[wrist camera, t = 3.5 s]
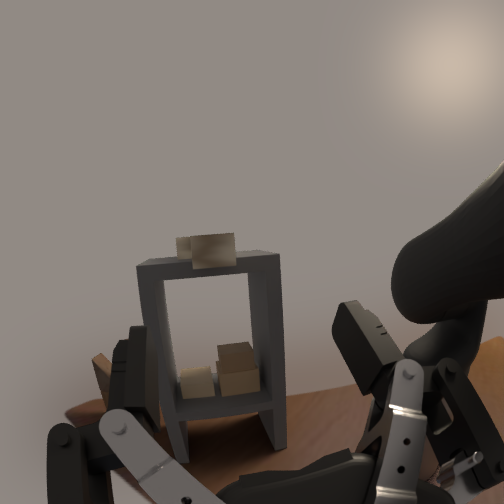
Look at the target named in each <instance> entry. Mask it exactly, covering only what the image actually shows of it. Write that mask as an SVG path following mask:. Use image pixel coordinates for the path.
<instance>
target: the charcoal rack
mask: <svg viewBox="0 0 504 504" xmlns="http://www.w3.org/2000/svg"><path fill="white" fill-rule="evenodd" d="M136 269H137V278H138V287H139V295H140V302H141V309H142V316H143V323H144V325H149V327H150V330H151V333H152V337H153V340H154V343H155V346H156V350H157V356H158V385H159V402H160V406H161V410H162V414H163V417H164V421H165V425H166V428H167V432H168V435H169V439H170V442H171V445H172V449H173V452H174V455H175V458H176V461H177V462H178V463H179V464H180V463H190V462H189V447H188V428H187V421H190V420H201V419H211V418H219V417H227V416H234V415H241V414H247V413H253V412H258V414H259V417H260V419H261V421H262V423H263V425H264V428H265V430H266V432H267V434H268V436H269V439H270V441H271V443H272V445H273V447H274V449H275V451H276V450H280V449H284V448H287V423H286V382H285V352H284V328H283V308H282V289H281V288H282V287H281V270H280V255H279V254H277V253H272V252H266V251H261V250H252V251H239V252H236V266H225V267H214V268H203V269H193V264H192V258H191V259H179V260H178V258H177V257H167V258H155V259H148V260H146V261H145V262H143V263H141V264H139V265H138V266H136ZM240 273H248V285H249V299H250V311H251V326H252V339H253V349H252V347H251V346H250V344H249V342H242V343H234V344H226V345H218V346H217V348H218V357H219V361H216V366H217V373H214V374H211V369H210V366H208V367H198V368H187V369H181V377H178V376H177V371H176V365H175V359H174V353H173V347H172V341H171V335H170V328H169V321H168V313H167V307H166V299H165V289H164V280H172V279H184V278H196V277H207V276H218V275H229V274H240Z"/></svg>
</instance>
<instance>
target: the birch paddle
mask: <svg viewBox="0 0 504 504" xmlns="http://www.w3.org/2000/svg"><path fill="white" fill-rule="evenodd" d="M176 245H177V258H178V260H179V259H191V258H192V264H193V269H203V268H214V267H225V266H236V252H235V239H234V233H225V234H212V235H198V236H190V237H181V238H176Z"/></svg>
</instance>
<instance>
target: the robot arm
mask: <svg viewBox="0 0 504 504" xmlns="http://www.w3.org/2000/svg"><path fill="white" fill-rule="evenodd" d="M391 291H392V296H393V299H394V302H395V305H396V307H397V309H398V310H399V311H400V313H401V314H402V315H403V316H404V317H405V318H406V319H408V320H409V321H411V322H414V323H417V324H431V323H436V322H437V323H436V324H435V325H434V327H433V328H432V329H431V330H430V331H428V332H427V333H426V334H425V335H423V336H422V337H420V338H419V339H417V340H415V341H414V342H412V343H411V344H410V345H409V346H408V347H407V348H406V349H405V351H404V353H403V354H402V353H401V351H400V350H399V348H398V347H397V345H396V344H395V342H394V341H393V339H392V338H391V337H390V335H389V334H388V333H387V331H386V329H385V328H384V327H383V325H382V323H381V322H380V321H379V319H378V318H377V317H376V316H375V315H374V314H373V313H372V312H370V311H369V310H364V308H363V307H362V306H361V304H360V303H359V302H358V301H357V300H354V301H349V302H343V303H340V304H339V307H338V310H337V313H336V316H335V319H334V323H333V325H332V336H333V339H334V341H335V343H336V345H337V347H338V348H339V350H340V352H341V354H342V356H343V358H344V360H345V362H346V364H347V366H348V367H349V370H350V371H351V373H352V375H353V377H354V379H355V381H356V383H357V385H358V387H359V389H360V391H361V393H362V395H363V396H365V395H368V394H370V393H372V394H373V396H374V397H373V399H372V402H371V406H370V411H369V415H368V419H367V423H366V427H365V431H364V434H363V436H362V439H361V440H360V442H359V444H358V446H357V448H356V451H355V453H351V452H350V450H349V448H347V449H344V450H342V451H339V452H336V453H333V454H330V455H326V456H324V457H322V458H320V459H319V460H317V461H315V462H313V463H312V464H310V465H308V466H306V467H304V468H303V469H300V470H295V471H264V472H258V473H253V474H247V475H241V476H239V480H238V481H236V482H233V483H231V484H229V485H227V486H226V487H225V488H223V489H222V490H220V491H219V492H218V493H217V494H216V495H214V494H213V493H212V492H210V491H209V490H208V489H207V488H206V487H204V486H203V485H202V484H201V483H200V482H199V481H197V480H196V479H195V478H194V477H193V476H192V475H191V474H190V473H189V472H187V471H186V470H185V469H184V468H183V467H182V466H181V465H180V464H179V463H178V462H177V461H176V460H174V459H173V458H172V457H171V456H169V455H168V454H167V453H166V452H165V451H164V450H163V449H162V448H161V446H160V445H159V444H158V443H157V442H156V441H155V440H154V433H158V432H161V429H160V411H159V385H158V356H157V350H156V346H155V343H154V340H153V337H152V333H151V330H150V327H149V325H144V326H131V327H130V332H129V340H119V342H118V343H117V345H116V347H115V348H114V350H113V357H112V366H111V375H110V385H109V397H108V408H107V411H106V413H105V414H104V415H103V416H102V418H101V419H100V420H99V421H97V422H95V423H93V424H89V425H86V426H82V427H78V428H75V427H73V426H72V425H70V424H67V423H60V424H57V425H55V426H54V427H52V429H51V430H50V431H49V434H48V439H47V496H48V504H114V499H113V492H112V483H111V475H110V474H111V473H110V470H114V469H118V468H121V467H125V466H126V468H127V469H128V470H129V471H130V472H131V473H132V475H133V476H134V477H135V478H136V479H137V481H138V483H139V485H140V486H141V487H142V488H143V490H144V491H145V492H146V493H147V494H148V495H149V496H150V497H151V498H152V499H153V500H154V501H155V502H156V503H157V504H467V503H468V502H469V501H471V500H472V499H473V498H475V497H476V496H477V495H478V494H480V493H481V492H483V491H485V490H487V489H489V488H491V487H493V486H495V485H497V484H499V483H501V482H502V481H504V443H503V440H502V438H501V436H500V434H499V432H498V430H497V429H496V427H495V425H494V423H493V421H492V419H491V417H490V415H489V413H488V412H487V410H486V408H485V406H484V404H483V403H482V401H481V399H480V397H479V396H478V394H477V392H476V391H475V389H474V387H473V386H472V384H471V382H470V381H469V379H468V373H469V369H470V366H471V364H472V362H473V361H474V359H475V357H476V355H477V353H478V350H479V347H480V342H481V337H482V332H483V327H484V322H485V315H486V310H487V304H488V300H491V299H501V298H504V161H503V162H502V163H501V164H500V165H499V166H498V168H497V169H496V170H495V171H494V172H493V173H492V174H491V175H490V176H489V177H488V178H487V179H486V180H485V181H484V182H483V183H482V184H481V185H480V186H479V187H478V188H477V189H476V190H475V191H474V192H473V193H472V194H471V195H470V196H469V197H468V198H467V199H466V200H465V201H464V202H463V203H462V204H461V205H460V206H459V207H458V208H456V210H454V211H453V212H452V213H451V214H450V215H449V216H448V217H446V218H445V219H444V220H442V221H441V222H439V223H438V224H436V225H435V226H433V227H432V228H430V229H429V230H427V231H425V232H424V233H422V234H421V235H419V236H417V237H416V238H414V239H412V240H411V241H409V242H408V243H407V244H406V245H405V246H404V247H403V248H402V250H401V251H400V253H399V255H398V257H397V259H396V261H395V264H394V267H393V271H392V278H391ZM438 464H439V465H440V467H441V468H440V472H439V474H438V476H437V478H436V480H437V482H438V483H439V484H440V487H437V486H435V485H433V484H430V483H428V482H426V480H427V479H429V478H430V477H431V476H432V475H433V474H434V472H435V471H436V469H437V467H438Z"/></svg>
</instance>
